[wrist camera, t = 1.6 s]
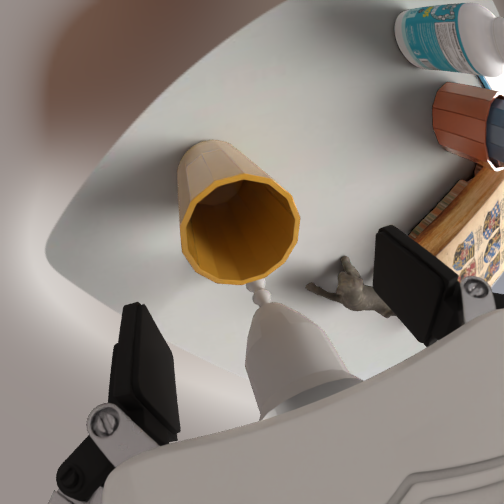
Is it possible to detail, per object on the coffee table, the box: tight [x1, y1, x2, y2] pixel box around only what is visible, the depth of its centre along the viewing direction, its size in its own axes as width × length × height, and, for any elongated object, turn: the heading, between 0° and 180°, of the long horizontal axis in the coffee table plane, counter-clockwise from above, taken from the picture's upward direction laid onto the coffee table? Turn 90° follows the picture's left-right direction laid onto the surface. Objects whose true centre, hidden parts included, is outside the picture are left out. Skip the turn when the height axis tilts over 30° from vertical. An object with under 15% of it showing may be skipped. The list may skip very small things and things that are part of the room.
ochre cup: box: [177, 140, 300, 285], centre depth 19 cm, size 6×6×12 cm
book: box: [409, 163, 504, 287], centre depth 36 cm, size 25×6×28 cm
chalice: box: [245, 278, 363, 421], centre depth 22 cm, size 7×7×18 cm
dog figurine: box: [305, 256, 396, 318], centre depth 31 cm, size 12×6×7 cm, turn 64°
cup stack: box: [432, 82, 504, 172], centre depth 22 cm, size 9×9×11 cm
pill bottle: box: [395, 3, 504, 77], centre depth 15 cm, size 8×7×14 cm
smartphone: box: [478, 73, 504, 93], centre depth 23 cm, size 8×1×15 cm
